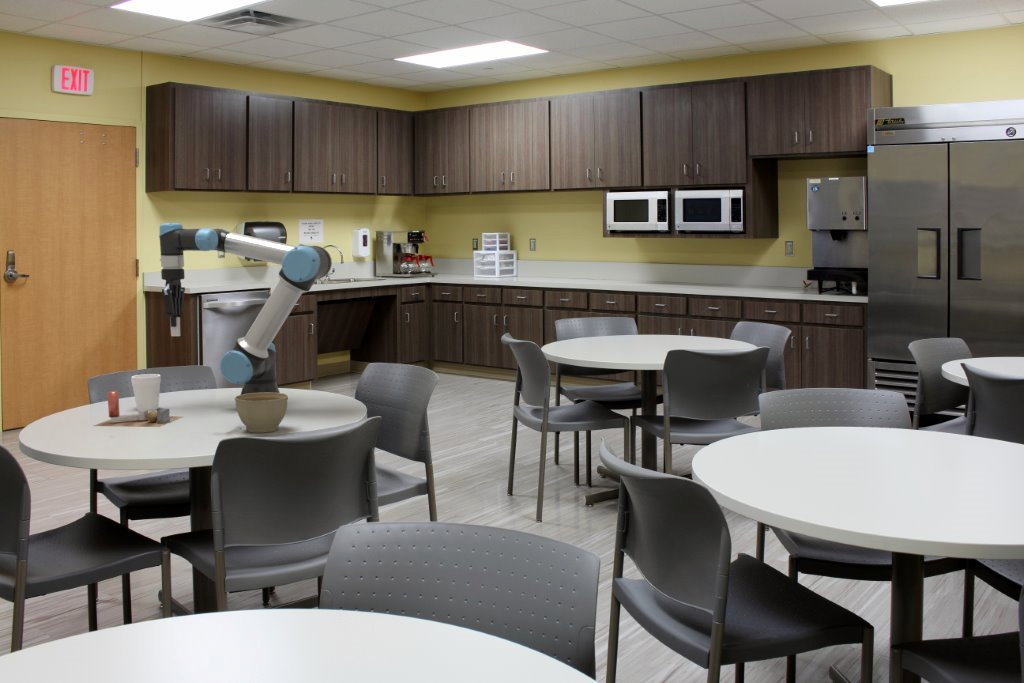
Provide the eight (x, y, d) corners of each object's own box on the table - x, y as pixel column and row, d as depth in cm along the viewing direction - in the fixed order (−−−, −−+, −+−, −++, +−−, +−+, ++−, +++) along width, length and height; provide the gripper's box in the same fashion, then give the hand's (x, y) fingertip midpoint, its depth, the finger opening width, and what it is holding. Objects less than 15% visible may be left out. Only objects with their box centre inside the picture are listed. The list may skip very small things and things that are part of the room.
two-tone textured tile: (169, 421, 306) (169, 408, 305) (163, 423, 301) (162, 411, 301) (163, 420, 306) (163, 408, 305) (157, 423, 302) (156, 411, 301)
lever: (167, 415, 313) (165, 386, 312) (169, 418, 309) (168, 388, 308) (108, 421, 304) (106, 391, 303) (110, 423, 300) (108, 393, 299)
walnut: (161, 421, 306) (160, 410, 305) (155, 423, 302) (155, 412, 302) (150, 421, 306) (150, 410, 306) (145, 423, 302) (144, 412, 302)
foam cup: (168, 411, 330) (166, 375, 329) (147, 416, 322) (146, 378, 321) (148, 409, 334) (146, 373, 333) (127, 414, 326) (125, 377, 325)
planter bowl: (261, 437, 286) (260, 402, 285) (225, 432, 295) (223, 397, 294) (300, 428, 300) (298, 394, 299) (263, 423, 308) (262, 390, 307)
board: (183, 421, 313) (183, 406, 313) (159, 431, 297) (158, 416, 296) (120, 420, 316) (119, 405, 315) (92, 430, 299) (92, 415, 298)
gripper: (170, 267, 334) (174, 334, 336) (153, 268, 321) (156, 338, 323) (191, 267, 333) (194, 334, 335) (174, 268, 320) (177, 338, 323)
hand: (175, 335), depth 329 cm, fingers closed
